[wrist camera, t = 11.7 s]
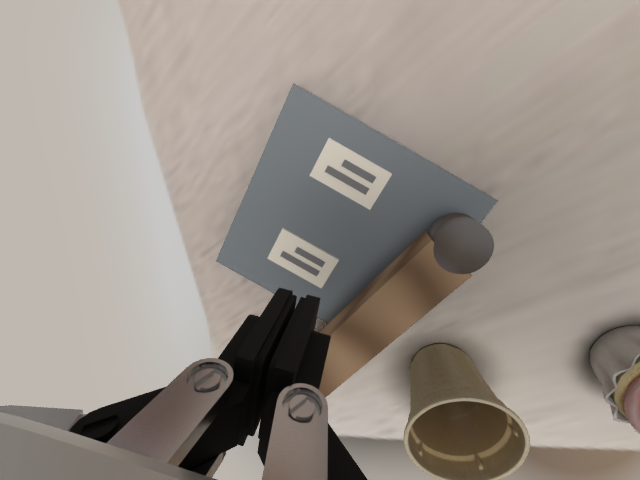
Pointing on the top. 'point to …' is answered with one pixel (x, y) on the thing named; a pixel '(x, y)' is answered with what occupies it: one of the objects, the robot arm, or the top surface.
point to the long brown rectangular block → (404, 294)
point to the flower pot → (460, 420)
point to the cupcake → (619, 372)
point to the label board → (336, 205)
